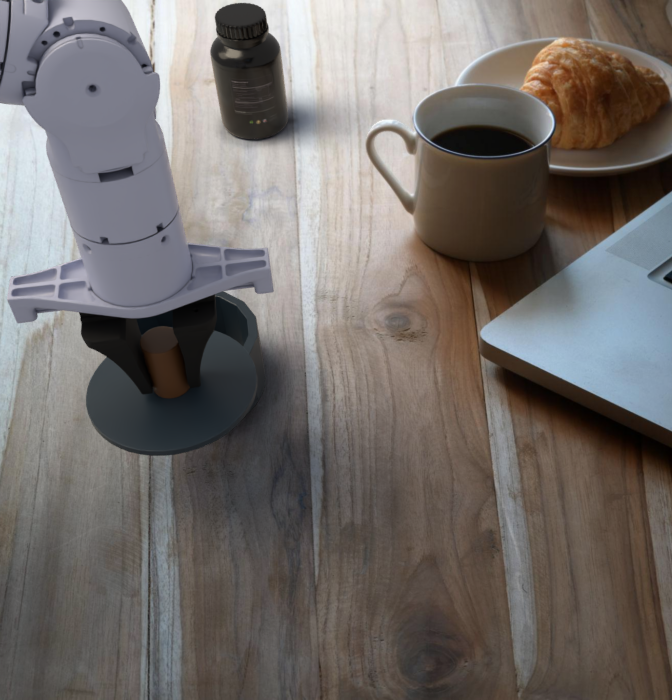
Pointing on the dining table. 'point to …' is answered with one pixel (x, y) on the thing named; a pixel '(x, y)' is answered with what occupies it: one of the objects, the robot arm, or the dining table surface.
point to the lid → (173, 396)
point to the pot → (226, 330)
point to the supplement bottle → (248, 73)
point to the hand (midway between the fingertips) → (171, 379)
